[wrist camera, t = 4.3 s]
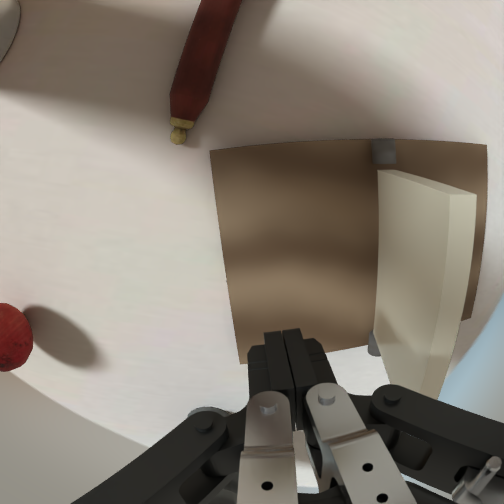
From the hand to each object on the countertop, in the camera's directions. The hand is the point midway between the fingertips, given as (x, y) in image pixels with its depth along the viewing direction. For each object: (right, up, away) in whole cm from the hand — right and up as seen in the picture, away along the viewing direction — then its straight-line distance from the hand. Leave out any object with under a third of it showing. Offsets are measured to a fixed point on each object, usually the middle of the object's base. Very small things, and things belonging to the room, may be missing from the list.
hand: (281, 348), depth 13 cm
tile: (+7, +2, +3) cm, 8 cm away
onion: (-23, -2, +10) cm, 25 cm away
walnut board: (+8, +4, +10) cm, 13 cm away
